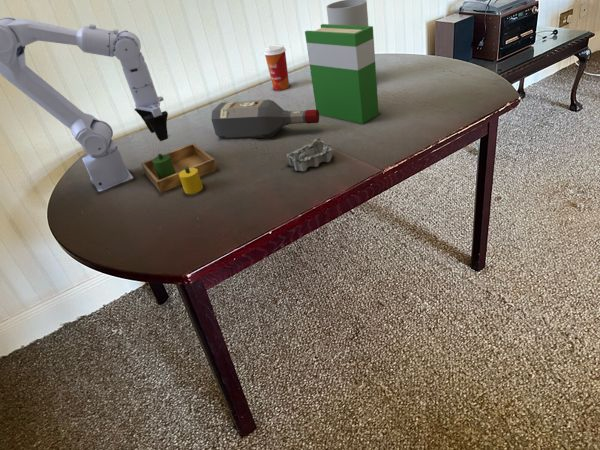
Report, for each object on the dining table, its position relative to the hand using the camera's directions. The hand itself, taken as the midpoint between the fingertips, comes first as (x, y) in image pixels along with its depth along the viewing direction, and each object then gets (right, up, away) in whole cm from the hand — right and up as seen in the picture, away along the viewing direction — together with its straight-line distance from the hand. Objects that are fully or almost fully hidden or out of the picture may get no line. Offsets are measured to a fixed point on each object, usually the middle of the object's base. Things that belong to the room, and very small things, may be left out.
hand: (159, 135), depth 122 cm
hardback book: (+51, +9, +16) cm, 54 cm away
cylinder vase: (+55, +25, +37) cm, 71 cm away
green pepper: (+2, -11, 0) cm, 11 cm away
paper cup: (+30, +26, +45) cm, 60 cm away
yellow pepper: (+11, -15, -8) cm, 20 cm away
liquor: (+13, +7, +15) cm, 21 cm away
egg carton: (+40, -8, -5) cm, 41 cm away
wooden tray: (+5, -10, +1) cm, 11 cm away
